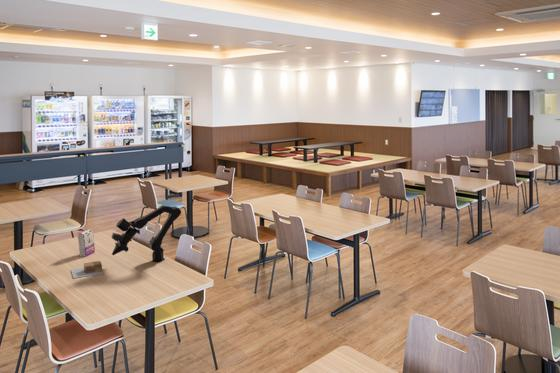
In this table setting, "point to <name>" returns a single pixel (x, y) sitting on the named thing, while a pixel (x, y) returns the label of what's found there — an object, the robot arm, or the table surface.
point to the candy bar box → (86, 243)
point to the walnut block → (92, 267)
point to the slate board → (82, 273)
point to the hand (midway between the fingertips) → (112, 254)
